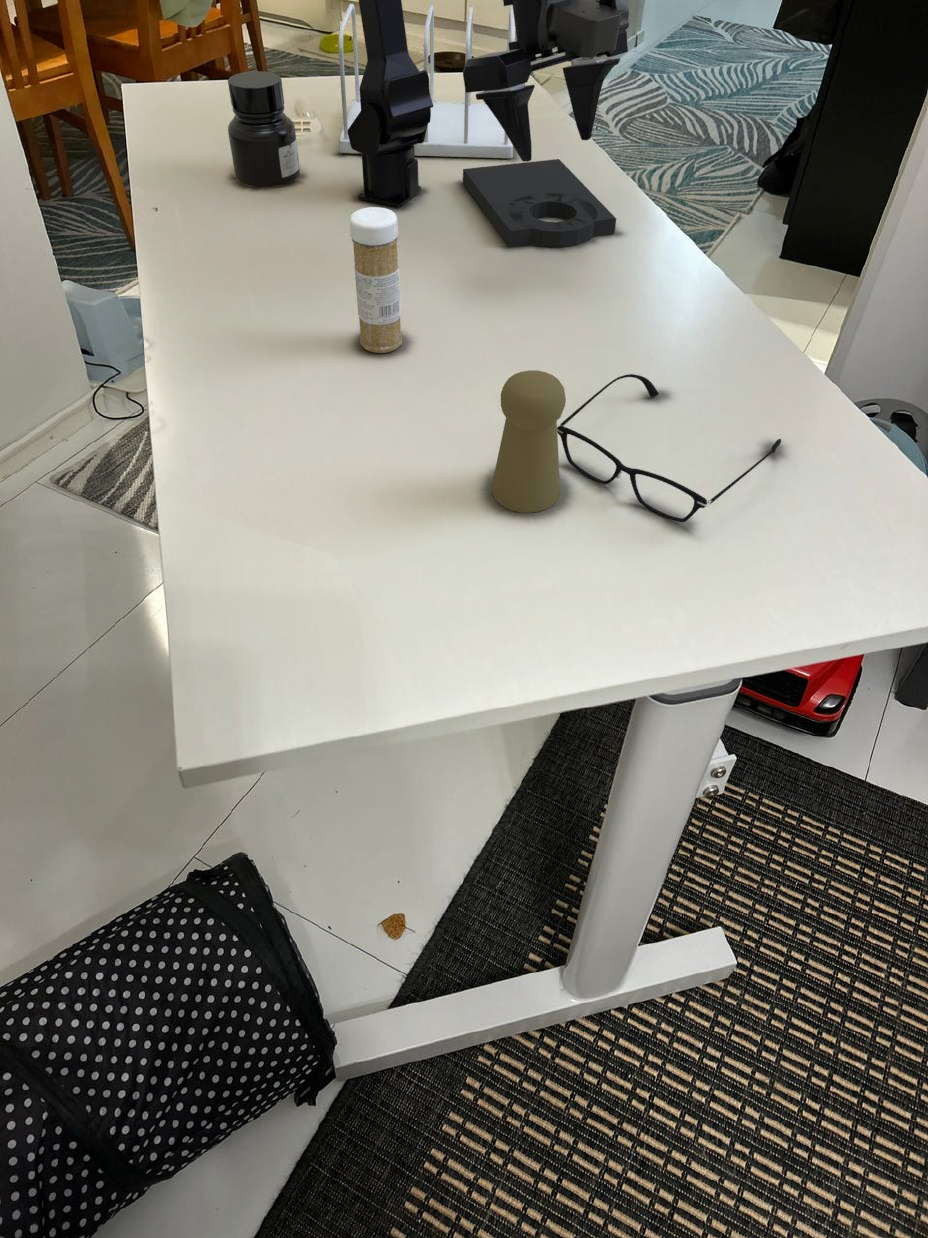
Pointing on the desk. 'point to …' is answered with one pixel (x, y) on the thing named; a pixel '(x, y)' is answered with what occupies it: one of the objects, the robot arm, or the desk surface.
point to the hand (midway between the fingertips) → (557, 150)
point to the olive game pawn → (529, 443)
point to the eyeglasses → (698, 499)
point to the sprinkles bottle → (377, 278)
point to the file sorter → (439, 106)
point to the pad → (538, 203)
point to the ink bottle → (261, 131)
